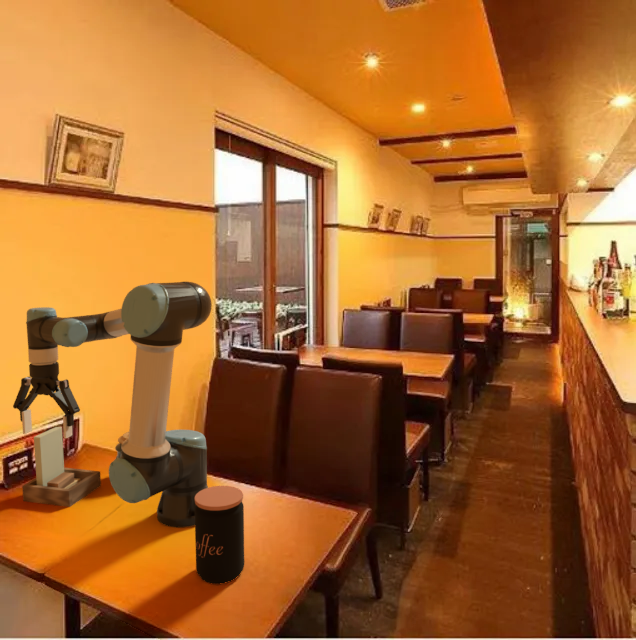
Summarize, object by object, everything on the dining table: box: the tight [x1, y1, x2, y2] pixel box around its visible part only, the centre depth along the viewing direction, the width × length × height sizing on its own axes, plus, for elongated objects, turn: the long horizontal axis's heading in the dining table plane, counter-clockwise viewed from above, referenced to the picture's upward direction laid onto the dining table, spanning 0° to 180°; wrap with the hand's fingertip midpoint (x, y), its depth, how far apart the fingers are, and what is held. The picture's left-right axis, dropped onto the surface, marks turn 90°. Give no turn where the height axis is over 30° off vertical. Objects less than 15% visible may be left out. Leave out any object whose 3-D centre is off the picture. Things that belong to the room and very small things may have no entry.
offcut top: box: [47, 472, 74, 488], centre depth 159 cm, size 3×8×2 cm, turn 171°
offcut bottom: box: [64, 478, 80, 489], centre depth 160 cm, size 4×10×2 cm, turn 167°
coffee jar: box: [194, 485, 245, 585], centre depth 123 cm, size 11×11×18 cm
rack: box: [21, 467, 102, 508], centre depth 160 cm, size 15×14×6 cm
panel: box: [33, 426, 65, 486], centre depth 160 cm, size 2×9×18 cm, turn 167°
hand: (47, 434), depth 159 cm, fingers open, 13 cm apart
